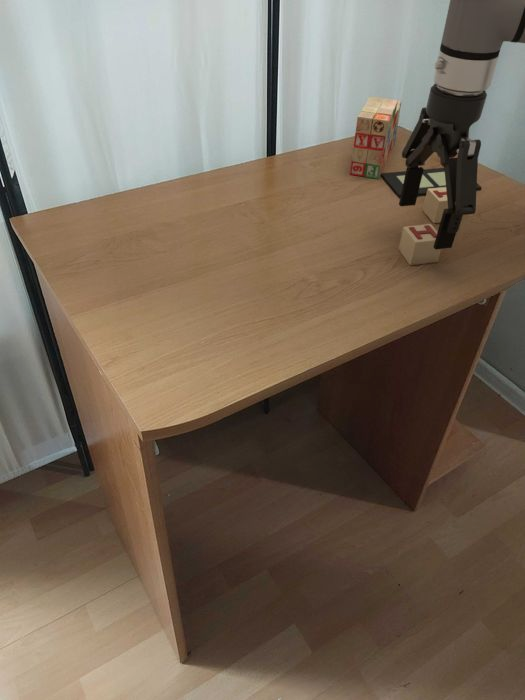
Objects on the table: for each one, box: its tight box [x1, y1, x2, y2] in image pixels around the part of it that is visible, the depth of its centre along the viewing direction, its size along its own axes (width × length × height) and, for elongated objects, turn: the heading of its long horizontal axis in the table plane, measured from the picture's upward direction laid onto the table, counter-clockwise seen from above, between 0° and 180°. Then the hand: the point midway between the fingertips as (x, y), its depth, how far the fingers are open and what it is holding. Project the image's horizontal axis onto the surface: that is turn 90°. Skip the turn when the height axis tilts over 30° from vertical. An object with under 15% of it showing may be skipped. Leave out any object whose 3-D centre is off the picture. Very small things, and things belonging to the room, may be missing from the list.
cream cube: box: [398, 223, 442, 266], centre depth 90 cm, size 5×5×5 cm
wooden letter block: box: [422, 187, 456, 224], centre depth 100 cm, size 5×5×5 cm
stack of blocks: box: [349, 96, 402, 180], centre depth 116 cm, size 21×6×12 cm, turn 161°
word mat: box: [380, 167, 483, 199], centre depth 111 cm, size 10×18×1 cm, turn 102°
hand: (423, 225), depth 88 cm, fingers open, 13 cm apart
